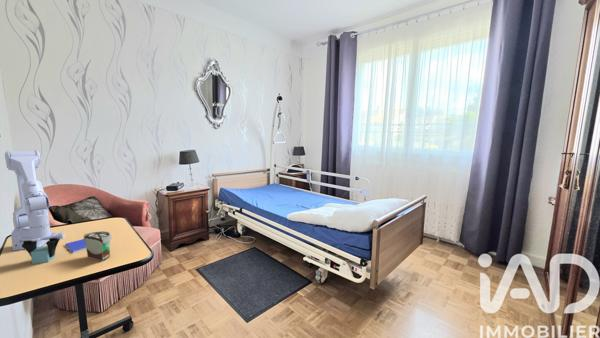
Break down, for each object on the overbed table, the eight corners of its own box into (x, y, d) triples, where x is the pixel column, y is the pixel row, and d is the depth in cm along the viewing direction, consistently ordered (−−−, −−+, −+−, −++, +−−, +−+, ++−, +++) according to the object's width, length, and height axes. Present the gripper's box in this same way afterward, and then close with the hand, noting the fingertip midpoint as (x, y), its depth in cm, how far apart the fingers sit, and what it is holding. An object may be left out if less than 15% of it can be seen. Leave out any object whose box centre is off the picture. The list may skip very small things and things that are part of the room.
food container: (120, 255, 108) (118, 233, 107) (105, 262, 103) (103, 239, 101) (100, 250, 112) (98, 229, 111) (85, 256, 107) (83, 234, 105)
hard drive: (95, 244, 115) (87, 237, 122) (72, 251, 109) (64, 243, 116) (96, 247, 116) (87, 240, 123) (73, 254, 109) (65, 246, 116)
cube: (32, 264, 100) (30, 252, 99) (39, 258, 104) (38, 246, 103) (48, 262, 101) (46, 250, 101) (55, 256, 106) (53, 245, 105)
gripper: (8, 230, 94) (13, 264, 96) (57, 226, 100) (60, 258, 101) (20, 224, 101) (25, 256, 103) (66, 221, 106) (69, 251, 108)
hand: (43, 256), depth 103 cm, fingers closed on cube, 5 cm apart
